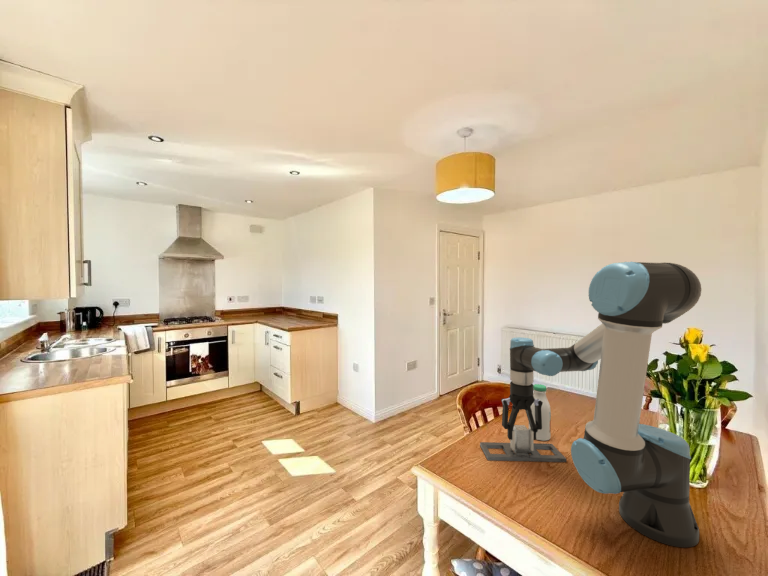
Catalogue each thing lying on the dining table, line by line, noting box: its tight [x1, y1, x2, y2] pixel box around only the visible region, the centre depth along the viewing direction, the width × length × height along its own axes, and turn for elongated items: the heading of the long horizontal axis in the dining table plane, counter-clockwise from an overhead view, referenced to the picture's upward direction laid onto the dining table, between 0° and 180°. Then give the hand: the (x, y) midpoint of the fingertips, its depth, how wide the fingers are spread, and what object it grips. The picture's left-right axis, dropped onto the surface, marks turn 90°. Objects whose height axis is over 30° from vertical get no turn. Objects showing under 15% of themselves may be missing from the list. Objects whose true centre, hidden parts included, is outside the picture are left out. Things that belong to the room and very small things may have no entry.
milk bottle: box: [528, 383, 552, 442], centre depth 125 cm, size 8×8×20 cm
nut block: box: [513, 424, 530, 455], centre depth 113 cm, size 4×4×9 cm
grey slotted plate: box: [479, 441, 567, 463], centre depth 113 cm, size 10×26×1 cm, turn 88°
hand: (521, 448), depth 112 cm, fingers open, 6 cm apart
